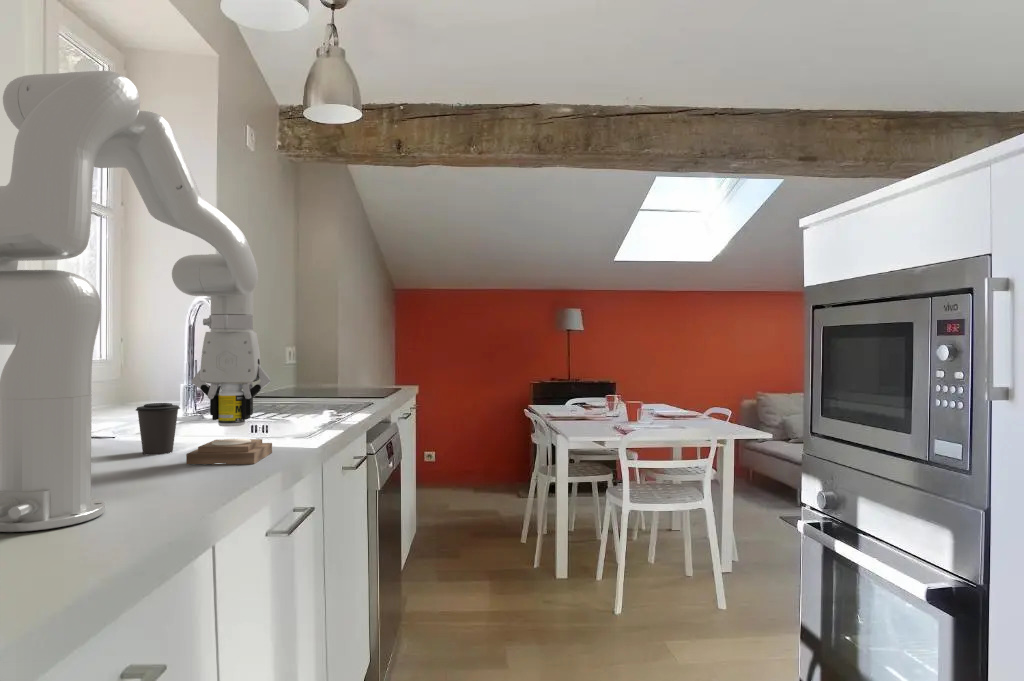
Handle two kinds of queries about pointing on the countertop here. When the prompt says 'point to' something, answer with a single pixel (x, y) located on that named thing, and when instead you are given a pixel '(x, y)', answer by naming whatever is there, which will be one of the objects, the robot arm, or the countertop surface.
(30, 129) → the robot arm
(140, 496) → the countertop surface
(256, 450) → the plinth
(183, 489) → the countertop surface
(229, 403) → the supplement bottle
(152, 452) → the coffee cup
